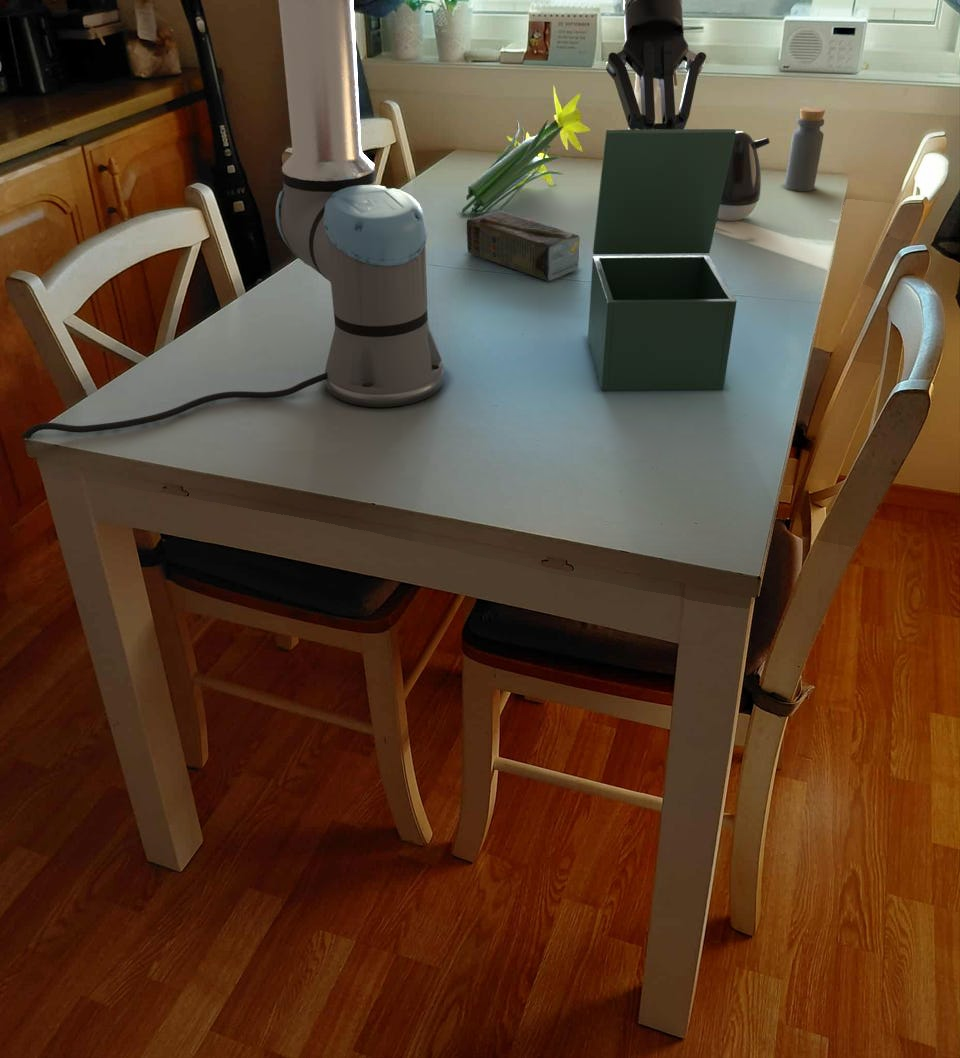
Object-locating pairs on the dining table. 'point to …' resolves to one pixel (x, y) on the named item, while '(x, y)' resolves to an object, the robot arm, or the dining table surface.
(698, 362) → the bin
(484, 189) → the daffodil flowers
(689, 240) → the bin lid
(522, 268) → the beverage carton
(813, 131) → the bottle
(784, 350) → the dining table surface
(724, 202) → the pump dispenser
